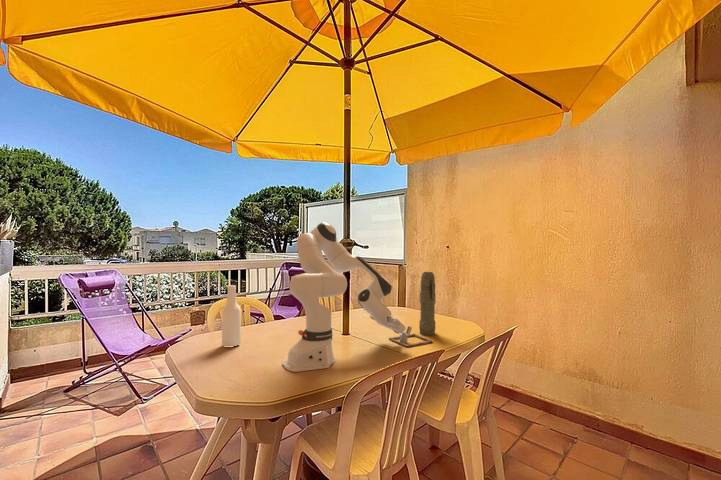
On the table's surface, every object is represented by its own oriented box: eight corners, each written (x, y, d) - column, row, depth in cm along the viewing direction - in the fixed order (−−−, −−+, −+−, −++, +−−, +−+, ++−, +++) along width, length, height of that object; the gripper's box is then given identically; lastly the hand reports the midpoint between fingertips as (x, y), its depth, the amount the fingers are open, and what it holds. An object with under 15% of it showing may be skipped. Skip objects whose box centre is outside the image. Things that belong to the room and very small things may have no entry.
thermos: (428, 337, 189) (429, 273, 189) (414, 331, 199) (415, 271, 199) (440, 334, 194) (441, 272, 194) (426, 329, 204) (426, 271, 204)
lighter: (401, 343, 177) (401, 328, 177) (399, 342, 179) (399, 327, 179) (412, 341, 181) (412, 326, 181) (409, 340, 183) (410, 325, 182)
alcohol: (220, 349, 166) (220, 287, 166) (223, 343, 175) (224, 284, 175) (239, 347, 168) (239, 286, 168) (241, 342, 177) (242, 284, 177)
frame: (406, 347, 171) (406, 345, 171) (389, 339, 184) (389, 338, 184) (432, 342, 179) (432, 340, 179) (413, 335, 192) (413, 333, 192)
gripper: (398, 314, 164) (414, 332, 170) (375, 306, 182) (389, 322, 187) (391, 325, 162) (407, 342, 167) (367, 316, 180) (383, 332, 185)
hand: (397, 332), depth 177 cm, fingers closed
